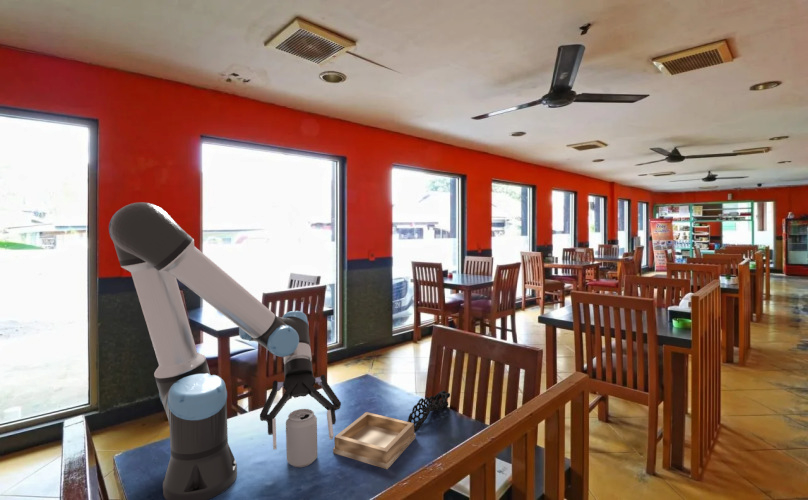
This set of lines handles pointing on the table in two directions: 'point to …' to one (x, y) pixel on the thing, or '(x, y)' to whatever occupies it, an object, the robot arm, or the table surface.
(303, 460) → the can
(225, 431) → the robot arm
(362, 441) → the wooden tray
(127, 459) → the table surface
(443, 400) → the decorative element
